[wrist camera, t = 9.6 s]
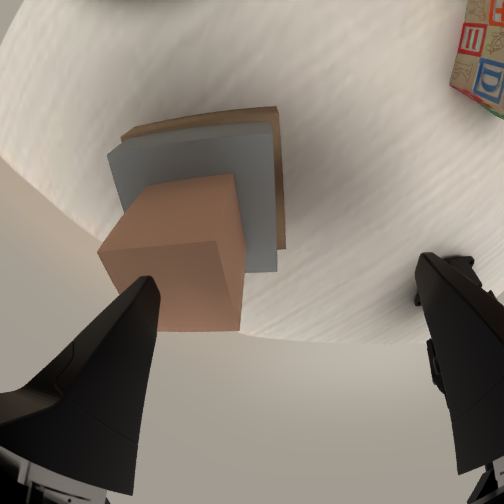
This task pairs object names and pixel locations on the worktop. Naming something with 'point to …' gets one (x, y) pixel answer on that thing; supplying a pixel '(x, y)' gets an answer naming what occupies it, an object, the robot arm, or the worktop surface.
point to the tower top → (210, 174)
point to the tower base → (226, 118)
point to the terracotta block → (184, 252)
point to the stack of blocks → (482, 55)
